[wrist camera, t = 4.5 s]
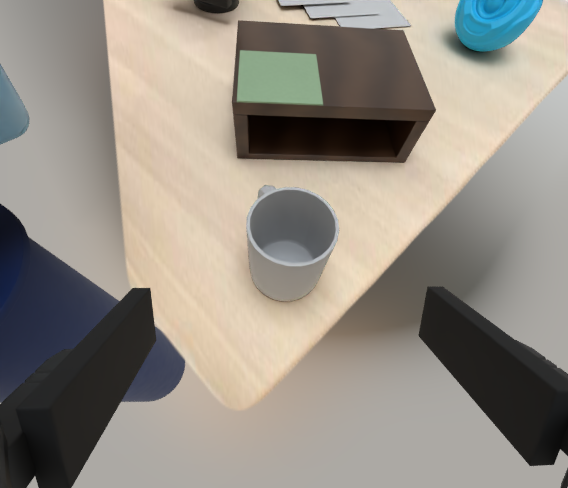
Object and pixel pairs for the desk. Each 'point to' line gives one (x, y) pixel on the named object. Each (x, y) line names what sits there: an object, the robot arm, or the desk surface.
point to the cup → (289, 241)
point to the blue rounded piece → (493, 22)
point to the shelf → (326, 93)
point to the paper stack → (354, 12)
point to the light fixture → (216, 5)
